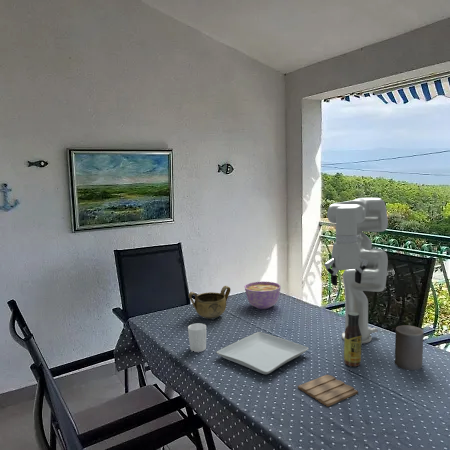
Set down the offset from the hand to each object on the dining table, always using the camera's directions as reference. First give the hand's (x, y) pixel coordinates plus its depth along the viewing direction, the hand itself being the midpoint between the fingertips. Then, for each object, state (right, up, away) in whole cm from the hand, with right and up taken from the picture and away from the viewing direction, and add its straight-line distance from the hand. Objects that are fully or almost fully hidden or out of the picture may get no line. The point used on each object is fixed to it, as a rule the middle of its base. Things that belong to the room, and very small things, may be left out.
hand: (346, 283), depth 158 cm
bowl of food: (-25, -23, +73) cm, 80 cm away
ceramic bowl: (-53, -26, +59) cm, 84 cm away
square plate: (-31, -32, +11) cm, 46 cm away
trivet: (-11, -34, -17) cm, 39 cm away
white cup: (-58, -31, +21) cm, 69 cm away
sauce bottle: (+3, -31, +2) cm, 31 cm away
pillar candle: (+24, -31, 0) cm, 39 cm away
